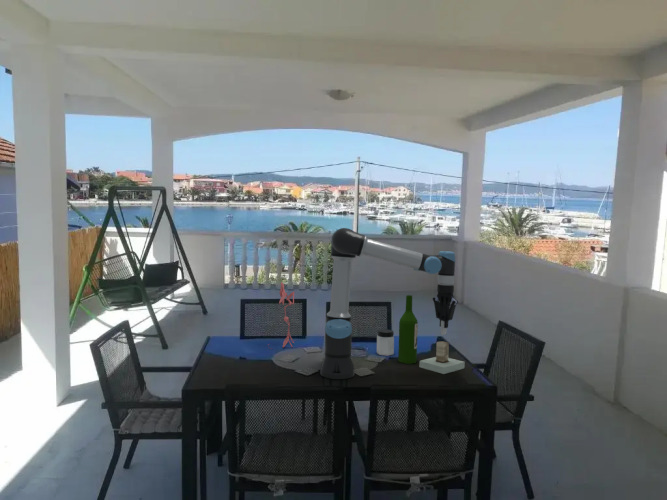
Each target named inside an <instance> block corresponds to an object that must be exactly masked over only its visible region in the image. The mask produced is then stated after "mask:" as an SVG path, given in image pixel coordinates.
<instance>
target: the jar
mask: <svg viewBox="0 0 667 500" xmlns="http://www.w3.org/2000/svg"><path fill="white" fill-rule="evenodd" d="M394 335H395V333H394V331H393V330H392V329H378V330H377V335H376V354H377V355H379V356H387V357H388V356H393V355H394V354H395V353H394V352H395V351H394V350H395V336H394Z"/></svg>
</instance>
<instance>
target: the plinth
mask: <svg viewBox="0 0 667 500" xmlns="http://www.w3.org/2000/svg"><path fill="white" fill-rule="evenodd" d="M418 364H419V365H418V366H419V368H421V369H424V370H428V371H432V372H434V373H439V374H442V375H445V374H449V373H452V372H453V373H454V372H457V371H459V370H463V369H465V368H466V367H465V366H466V363H465V361H462V360H458V359H454V358H451V357H448V362H447V363H440V362H436V356H434V357H430V358H426V359H422V360H419V363H418Z"/></svg>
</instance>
